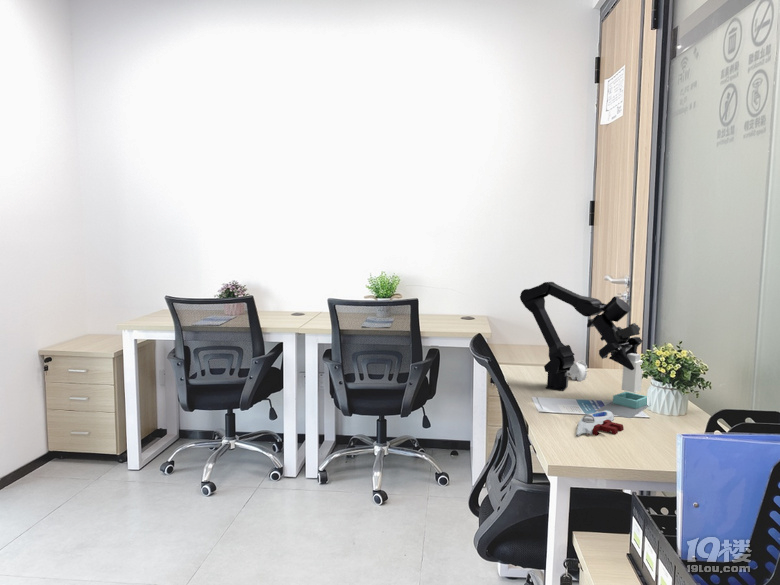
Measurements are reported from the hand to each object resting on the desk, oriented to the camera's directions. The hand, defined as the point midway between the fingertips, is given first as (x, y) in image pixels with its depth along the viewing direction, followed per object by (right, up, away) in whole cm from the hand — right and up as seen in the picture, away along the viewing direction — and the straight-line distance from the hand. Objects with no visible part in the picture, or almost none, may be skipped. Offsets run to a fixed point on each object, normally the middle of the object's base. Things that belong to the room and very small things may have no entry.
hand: (636, 368), depth 204 cm
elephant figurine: (-9, -9, +38) cm, 40 cm away
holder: (-1, -12, +2) cm, 12 cm away
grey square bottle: (-1, -7, +2) cm, 8 cm away
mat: (-4, -13, -1) cm, 14 cm away
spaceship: (-20, -16, -19) cm, 31 cm away
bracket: (-17, -16, -23) cm, 33 cm away
